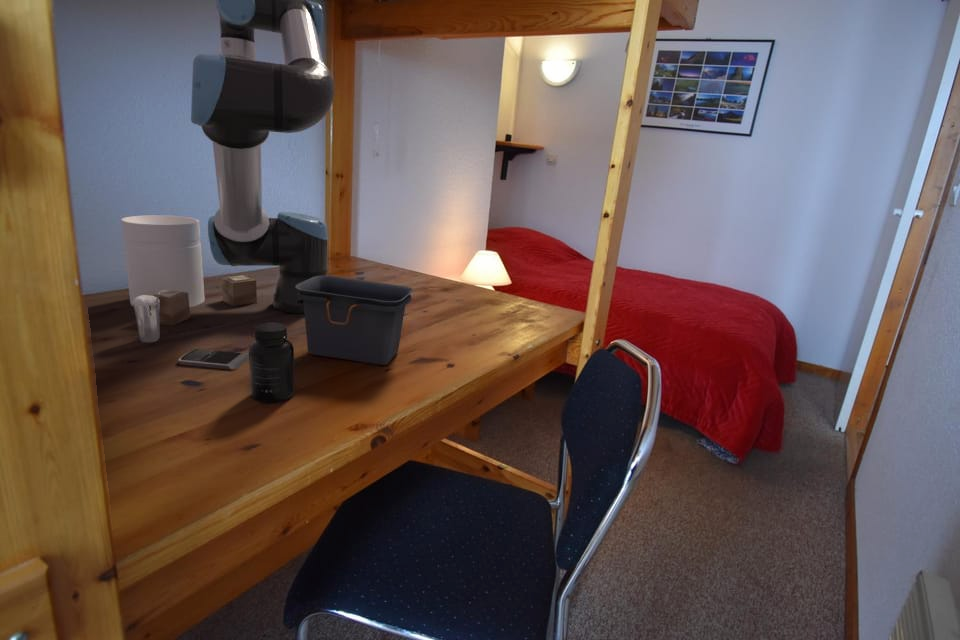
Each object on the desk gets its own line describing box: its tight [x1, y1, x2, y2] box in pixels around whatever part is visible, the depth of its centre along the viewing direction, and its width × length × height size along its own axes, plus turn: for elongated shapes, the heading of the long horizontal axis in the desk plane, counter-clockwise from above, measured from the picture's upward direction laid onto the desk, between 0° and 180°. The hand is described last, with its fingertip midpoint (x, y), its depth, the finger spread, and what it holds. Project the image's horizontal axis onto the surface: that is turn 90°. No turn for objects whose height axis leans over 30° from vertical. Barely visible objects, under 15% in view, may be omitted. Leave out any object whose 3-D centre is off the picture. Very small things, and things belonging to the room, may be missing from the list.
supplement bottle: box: [248, 322, 296, 404], centre depth 87 cm, size 7×7×12 cm
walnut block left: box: [149, 290, 191, 326], centre depth 118 cm, size 6×6×6 cm
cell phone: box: [177, 348, 249, 370], centre depth 100 cm, size 6×11×1 cm, turn 88°
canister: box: [120, 214, 206, 308], centre depth 129 cm, size 16×16×20 cm
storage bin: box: [295, 274, 414, 366], centre depth 106 cm, size 21×16×14 cm
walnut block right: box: [221, 275, 258, 307], centre depth 136 cm, size 6×6×6 cm
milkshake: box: [132, 294, 161, 343], centre depth 106 cm, size 4×5×10 cm
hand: (242, 161), depth 136 cm, fingers closed
